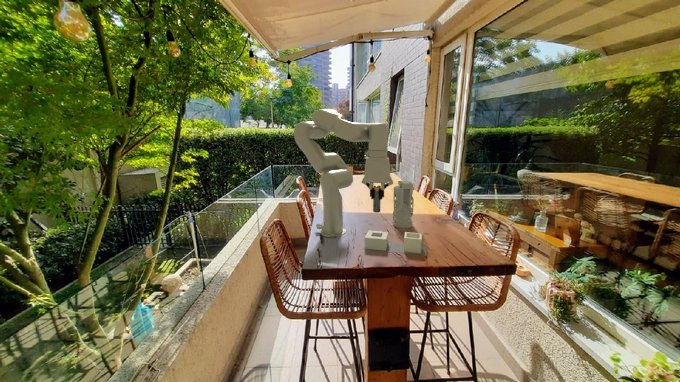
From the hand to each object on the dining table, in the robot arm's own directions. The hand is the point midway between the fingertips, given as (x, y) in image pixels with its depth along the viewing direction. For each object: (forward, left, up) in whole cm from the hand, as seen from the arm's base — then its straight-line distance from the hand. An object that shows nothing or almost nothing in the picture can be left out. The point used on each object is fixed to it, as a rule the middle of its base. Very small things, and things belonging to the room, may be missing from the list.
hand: (376, 198), depth 111 cm
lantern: (+10, +31, -22) cm, 39 cm away
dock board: (+8, 0, -22) cm, 23 cm away
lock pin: (0, 0, -6) cm, 6 cm away
